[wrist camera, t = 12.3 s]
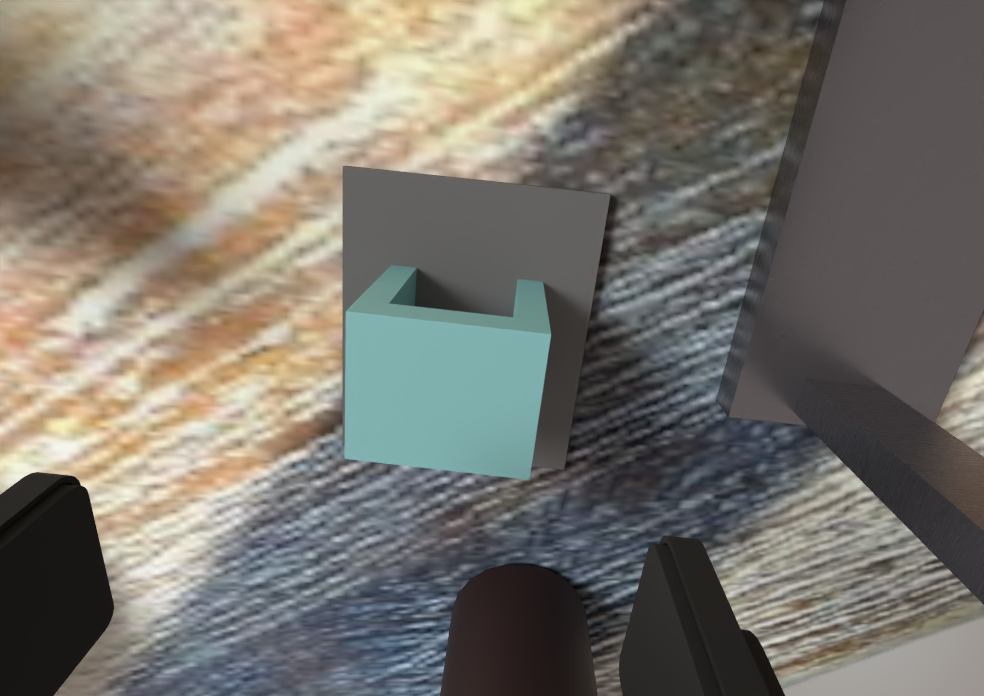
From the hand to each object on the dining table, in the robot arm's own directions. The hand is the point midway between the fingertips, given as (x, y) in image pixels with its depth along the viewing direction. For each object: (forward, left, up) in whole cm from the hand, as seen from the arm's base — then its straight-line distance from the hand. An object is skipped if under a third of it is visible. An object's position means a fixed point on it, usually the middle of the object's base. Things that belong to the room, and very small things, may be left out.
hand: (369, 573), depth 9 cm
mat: (+1, 0, -15) cm, 15 cm away
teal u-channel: (+1, 0, -14) cm, 14 cm away
